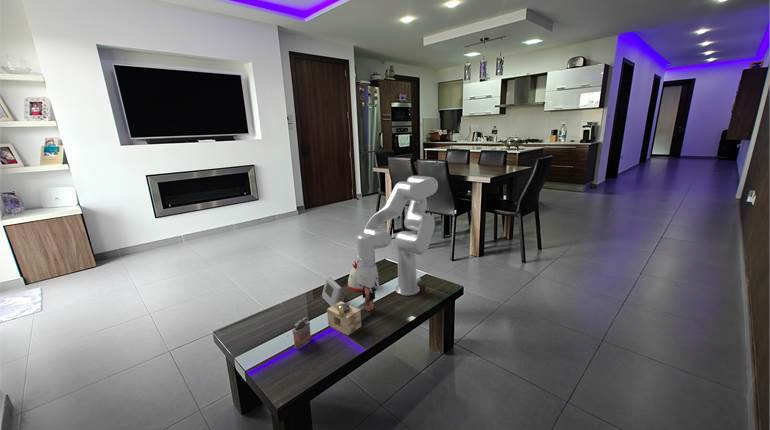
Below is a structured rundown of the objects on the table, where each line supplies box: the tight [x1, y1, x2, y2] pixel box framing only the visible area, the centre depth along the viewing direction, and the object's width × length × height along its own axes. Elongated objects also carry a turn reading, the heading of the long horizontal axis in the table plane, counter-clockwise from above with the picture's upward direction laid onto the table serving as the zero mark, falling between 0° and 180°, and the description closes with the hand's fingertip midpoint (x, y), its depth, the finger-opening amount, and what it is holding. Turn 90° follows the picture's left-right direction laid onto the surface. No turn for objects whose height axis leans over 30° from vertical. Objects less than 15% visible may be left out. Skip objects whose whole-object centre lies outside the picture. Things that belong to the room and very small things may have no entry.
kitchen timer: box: [347, 260, 362, 292], centre depth 172 cm, size 14×14×15 cm
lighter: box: [292, 316, 313, 350], centre depth 126 cm, size 8×3×10 cm, turn 148°
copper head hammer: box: [355, 286, 375, 312], centre depth 142 cm, size 19×4×12 cm, turn 141°
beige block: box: [326, 301, 362, 336], centre depth 136 cm, size 8×12×8 cm, turn 51°
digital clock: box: [321, 276, 345, 307], centre depth 156 cm, size 16×9×11 cm, turn 20°
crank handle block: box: [337, 303, 350, 317], centre depth 132 cm, size 5×10×5 cm, turn 1°
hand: (368, 297), depth 147 cm, fingers closed on copper head hammer, 3 cm apart
